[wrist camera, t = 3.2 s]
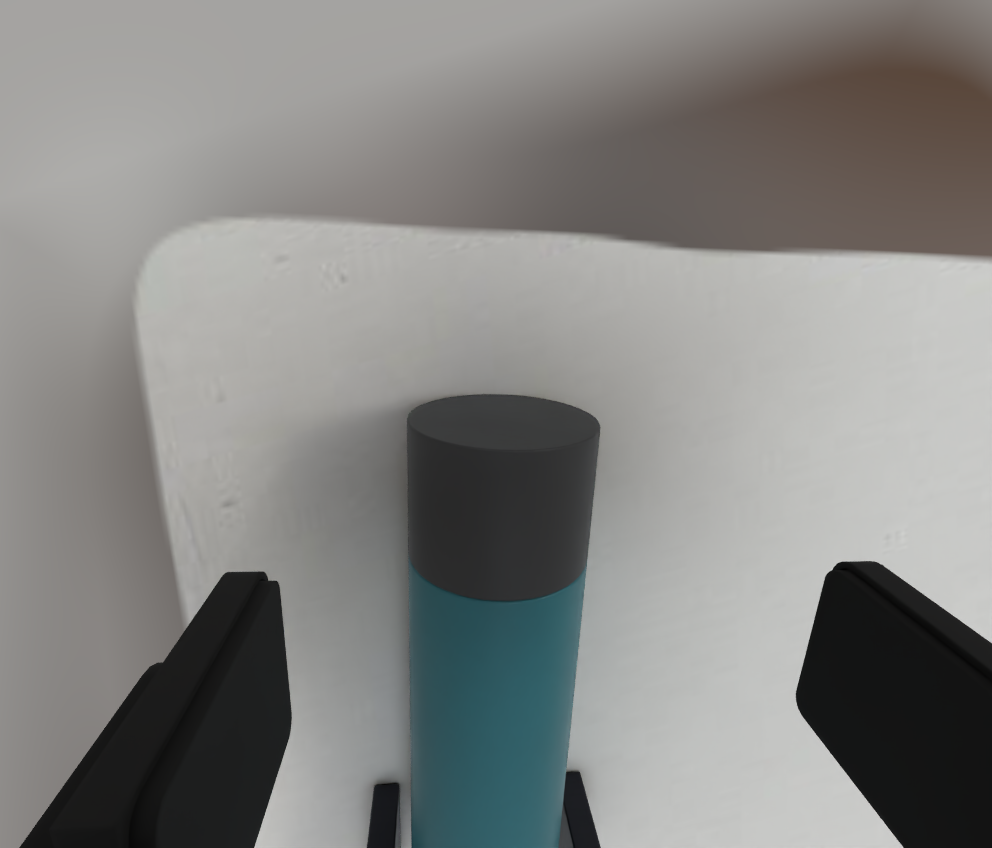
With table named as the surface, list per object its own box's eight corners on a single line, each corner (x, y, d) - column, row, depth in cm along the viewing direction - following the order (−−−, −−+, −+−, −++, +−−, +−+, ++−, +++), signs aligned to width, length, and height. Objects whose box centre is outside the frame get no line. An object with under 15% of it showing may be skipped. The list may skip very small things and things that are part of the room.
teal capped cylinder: (414, 800, 22) (408, 959, 17) (411, 393, 17) (400, 450, 12) (541, 792, 22) (570, 943, 18) (574, 395, 17) (628, 450, 13)
